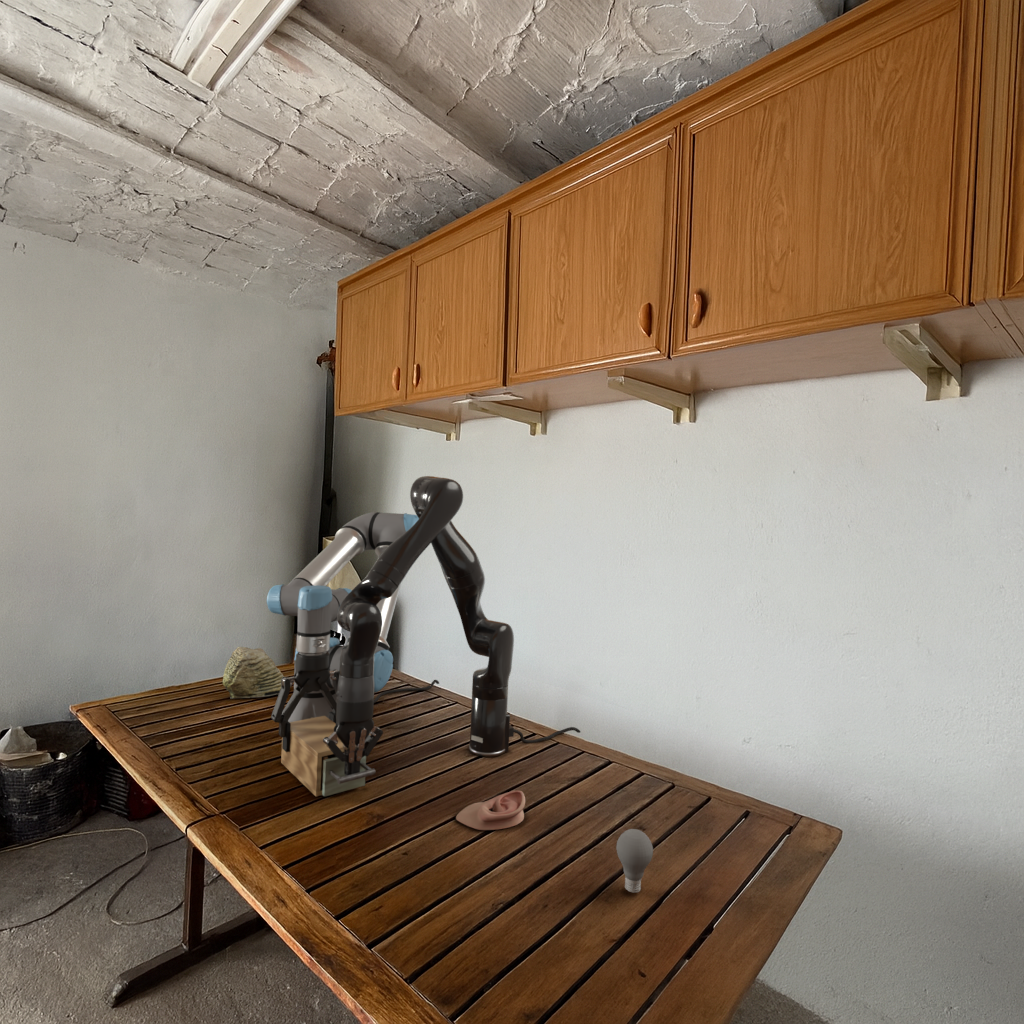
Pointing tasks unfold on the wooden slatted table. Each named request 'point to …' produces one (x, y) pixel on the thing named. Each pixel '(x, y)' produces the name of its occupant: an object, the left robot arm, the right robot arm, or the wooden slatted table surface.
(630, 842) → the light bulb
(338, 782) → the drawer
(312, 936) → the wooden slatted table surface
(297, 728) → the cabinet
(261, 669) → the fossil
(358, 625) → the right robot arm
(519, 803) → the anatomical model
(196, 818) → the wooden slatted table surface
